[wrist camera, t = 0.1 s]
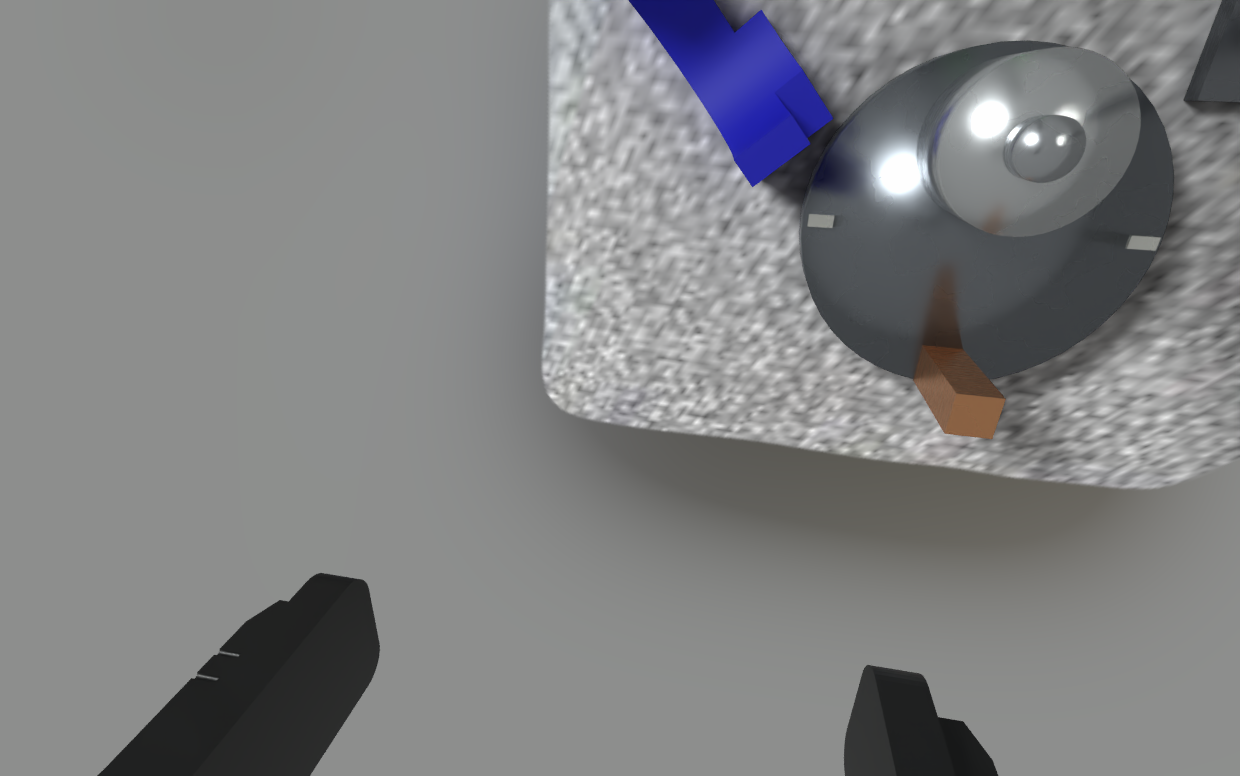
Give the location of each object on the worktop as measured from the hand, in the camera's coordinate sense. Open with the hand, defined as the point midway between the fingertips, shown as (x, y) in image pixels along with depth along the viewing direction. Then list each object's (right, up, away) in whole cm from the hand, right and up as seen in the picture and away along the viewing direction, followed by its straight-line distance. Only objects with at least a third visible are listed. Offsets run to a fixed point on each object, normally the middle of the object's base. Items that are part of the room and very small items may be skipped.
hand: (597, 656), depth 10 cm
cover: (+18, +16, +18) cm, 30 cm away
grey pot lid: (+18, +13, +22) cm, 31 cm away
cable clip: (+6, +22, +22) cm, 31 cm away
